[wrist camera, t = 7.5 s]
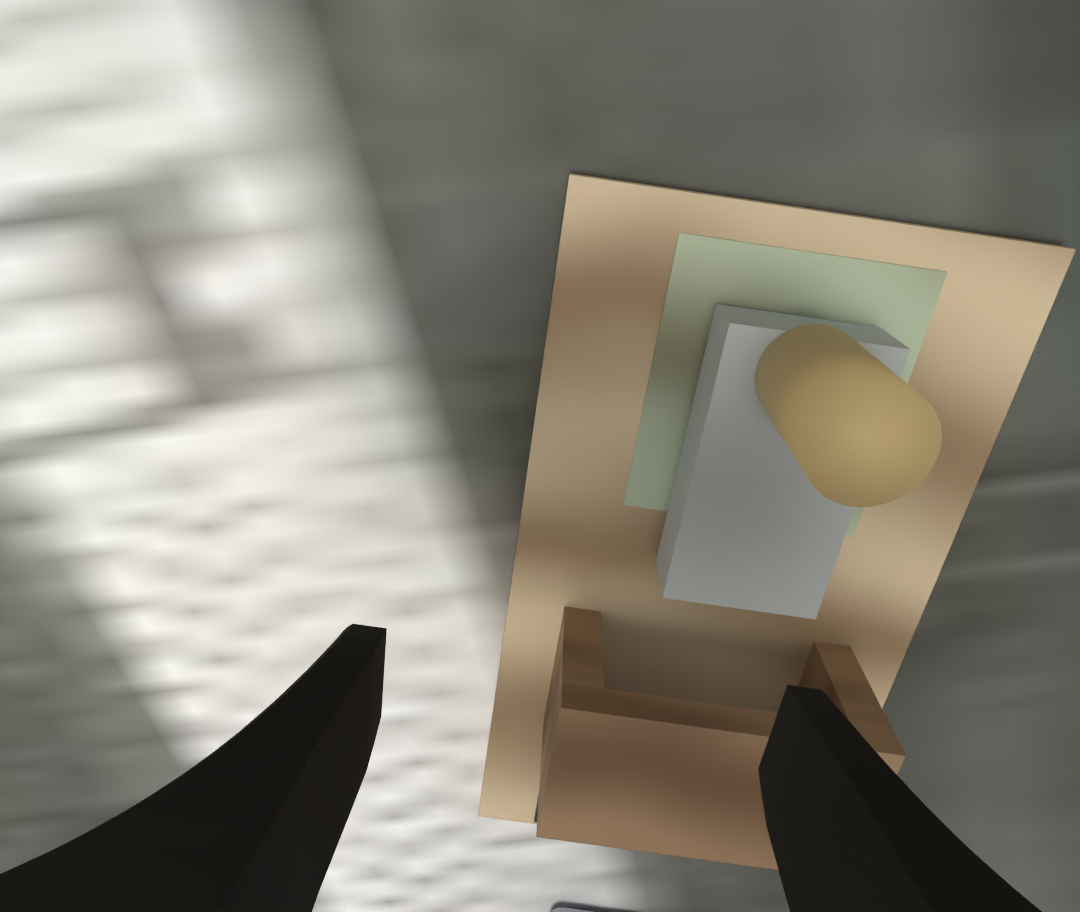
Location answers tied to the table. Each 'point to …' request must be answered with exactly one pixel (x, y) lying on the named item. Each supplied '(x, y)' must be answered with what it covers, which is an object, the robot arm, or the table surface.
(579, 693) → the tunnel
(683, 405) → the board
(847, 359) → the tan-topped grey block
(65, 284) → the table surface
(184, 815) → the robot arm
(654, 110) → the table surface
